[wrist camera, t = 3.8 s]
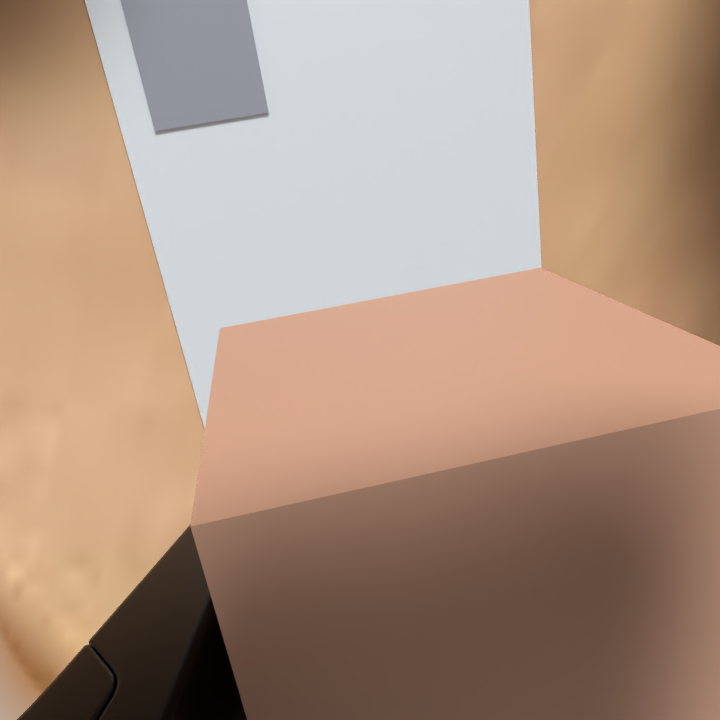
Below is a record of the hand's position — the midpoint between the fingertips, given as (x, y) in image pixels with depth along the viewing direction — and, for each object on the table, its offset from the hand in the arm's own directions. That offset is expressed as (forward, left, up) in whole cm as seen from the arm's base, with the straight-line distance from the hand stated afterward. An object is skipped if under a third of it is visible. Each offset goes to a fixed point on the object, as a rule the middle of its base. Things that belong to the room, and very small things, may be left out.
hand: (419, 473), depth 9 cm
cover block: (0, 0, -1) cm, 1 cm away
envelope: (-1, -3, -11) cm, 12 cm away
